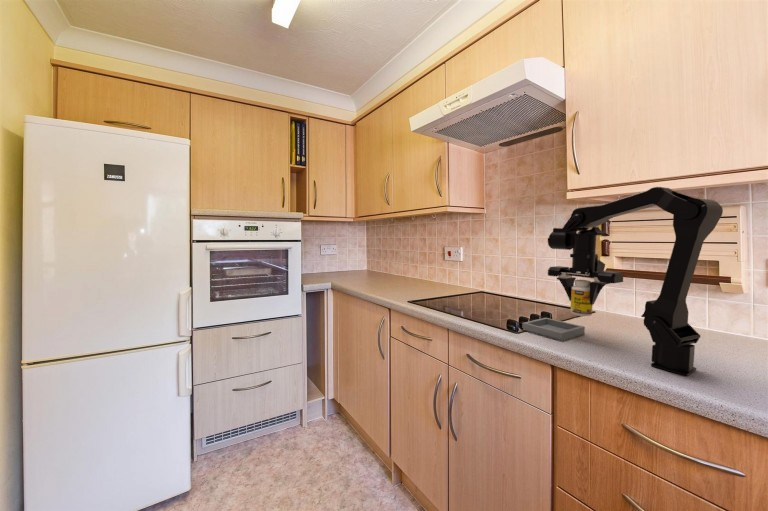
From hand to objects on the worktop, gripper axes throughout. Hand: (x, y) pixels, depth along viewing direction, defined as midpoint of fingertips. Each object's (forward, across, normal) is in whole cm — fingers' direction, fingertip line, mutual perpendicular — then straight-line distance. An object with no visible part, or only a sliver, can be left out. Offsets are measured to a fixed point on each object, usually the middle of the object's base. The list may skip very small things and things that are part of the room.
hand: (581, 302), depth 95 cm
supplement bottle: (+4, 0, 0) cm, 4 cm away
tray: (+11, +8, 0) cm, 14 cm away
